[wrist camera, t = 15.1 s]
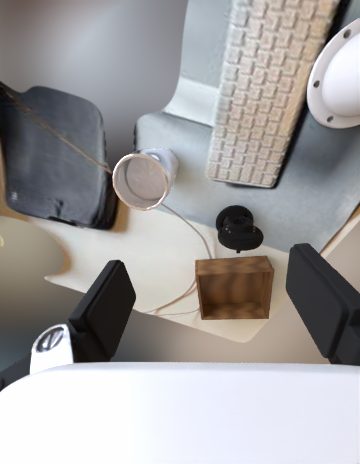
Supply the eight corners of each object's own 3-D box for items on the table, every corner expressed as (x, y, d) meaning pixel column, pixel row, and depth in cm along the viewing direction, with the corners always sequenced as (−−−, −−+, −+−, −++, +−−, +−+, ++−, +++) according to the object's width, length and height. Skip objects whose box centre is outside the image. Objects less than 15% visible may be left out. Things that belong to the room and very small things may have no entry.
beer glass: (188, 161, 34) (182, 179, 20) (166, 191, 37) (149, 222, 23) (157, 135, 32) (129, 136, 19) (137, 168, 35) (100, 189, 22)
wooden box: (266, 255, 42) (274, 269, 37) (262, 302, 49) (268, 318, 44) (195, 260, 44) (195, 273, 40) (201, 304, 51) (201, 319, 47)
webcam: (255, 203, 36) (273, 225, 27) (251, 236, 40) (266, 265, 31) (215, 205, 37) (220, 227, 28) (214, 237, 41) (219, 265, 32)
